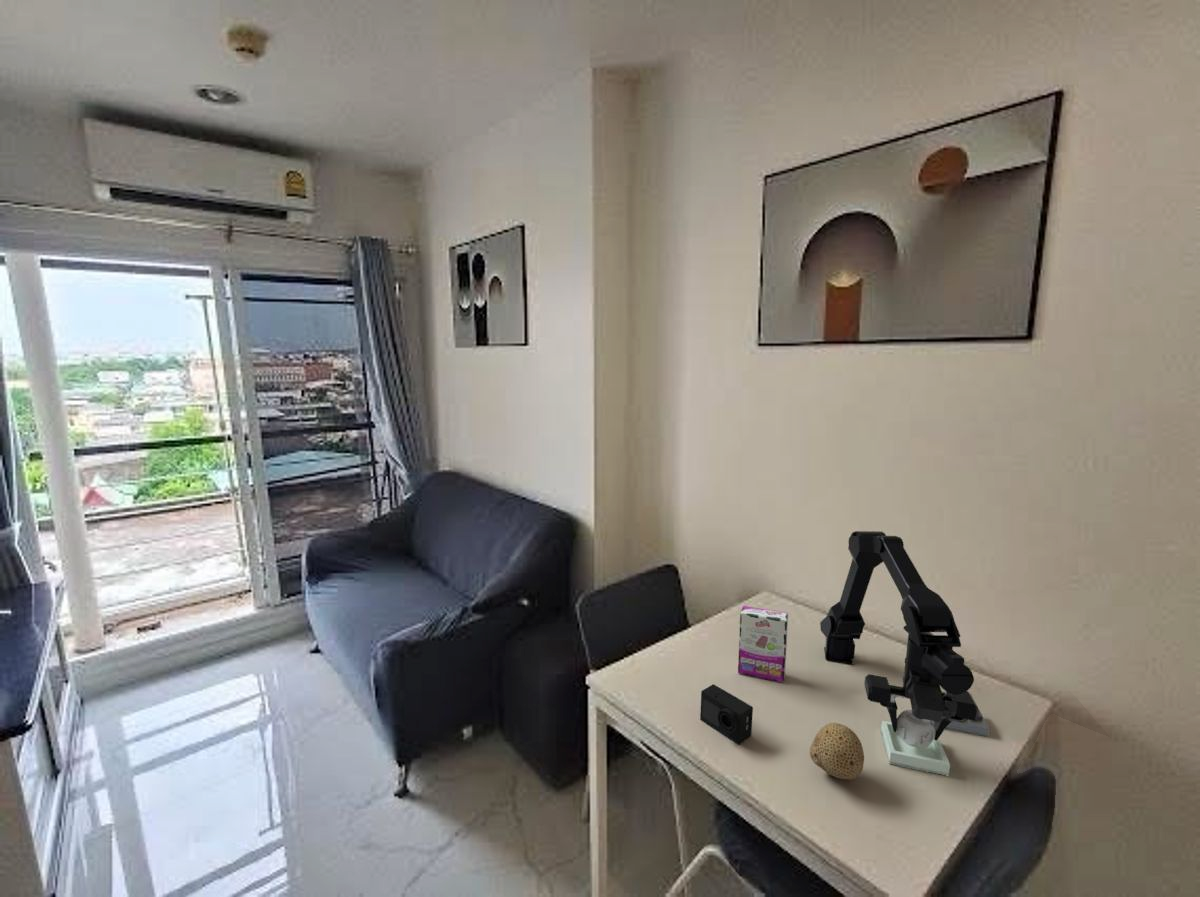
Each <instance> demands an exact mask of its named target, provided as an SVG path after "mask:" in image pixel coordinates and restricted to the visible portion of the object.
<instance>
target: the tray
mask: <svg viewBox="0 0 1200 897" xmlns="http://www.w3.org/2000/svg"><path fill="white" fill-rule="evenodd" d="M880 733H881V736H882V740H883V745H884V748H885V752H886V756H887V759H888V764H890V765H893V766H898V767H902V768H907V769H911V768H912V769H911V770H915V771H920V770H921V771H920V772H924V771H928V772H927V773H929V772H933V773H932V774H934V773H938V774H942V775H941V776H943V775H948V776H949V775H950V768H951V765H950V761H949V759H948V755H947V754H946V751H945V749H944V747H943V744H942V742H941V740H940V737H939V738H938V740H933V742H932V743H931V744H930V745H929V746H928V747H926V748H916V747H912V746H910V745H908V744H906V743H905V742H904V741H903V740H902V739H901V738H900V736H899V735H898V733H897V730H896V732H894V731H893V727H892V723H891V721H886V720H882V721H881V727H880ZM938 774H937V775H938Z"/></svg>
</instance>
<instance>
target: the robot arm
mask: <svg viewBox="0 0 1200 897" xmlns="http://www.w3.org/2000/svg"><path fill="white" fill-rule="evenodd" d="M848 552H849V553H850V556H851V557H852V558H851V559H852V560H851V562H850V566H849V569H848V573H847V577H846V580H845V583H844V586H843V589H842V593H841V596H840V599H839V601H838V602H836V603H835V604H833V605H832V606H831V607H830V608H829V611H828V613H827V615H826V616H825V617H824V618H823V619H822V620H821V621H820V623H819V625H820V626H819V627H820V631H821V633H822V634H823V635H824V637H825V645H824V647H823V650H824V657H825V658H824V659H825V660H826V661H831V662H834V663H835V662H836V663H842V664H847V665H853V664H854V662H853V660H854V659H855V651H856V650H855V649H856V643H855V640H860V639H861V635H862V634H863V633H864V627H865V625H866V623H865V619H864V618H863V616H862V614H861V609H862V605H863V602H864V599H865V597H866V596H865V595H867V594H866V593H867V590H868V587H869V585H870V581H871V580H872V579H871V578H872V575H873V572H874V570H875V568H876V567H878V566H879V565H881V564H882V563H883V564H884V566H885V568H886V569H887V571H888V573H889V575H890V576H891V579H892V580H893V583H894V584H895V586H896V588H897V590H898V592H899V594H900V596H901V599H902V602H901V606H900V612H902V613H901V614H902V615H903V616H902V618H903V621H904V623H905V625H904V626H903V631H905V632H906V633H907V634H908V635H907V643H906V644H907V645H906V654H905V657H904V664H905V665H904V674H903V677H902V686H898V685H893V684H890V683H889V680H888V677H885V676H880V675H875V674H870V673H868V674H867V675H866V676H865V677H864V685H863V686H864V689H865V693H866V697H867V700H869V701H870V702H871V703H872V702H873V703H878V704H880V706H882V707H884V708H886V709H887V711H888V714H889V715H888V716H889V718H890V722H891V723H892V727H893V731H894V732H896V730H897V718H898V715H897V711H898V705H897V702H896V698H901V699H906V700H909V701H910V705H911V710H912V713H913V715H914V716H915V717H916V718H918V719H926V720H931V721H934V727H935V731H936V734H935V738H934V740H938V738H939V739H940V737H941V735H942V733H944V731H945V728H946V727H947V726H948V725H949V724H950V723H951V722H952V721H962V720H963V719H968V720H973V721H976V720H978V713H979V711H980V710H979V711H978V709H979V707H978V705H977V702H976V701H975V699H974V698H973V696H972V694H971V693H970V692H969V690H970V689H971V688H972V686H973V684H974V680H975V677H974V674H973V672H972V670H971V668H969V667H968V666H967V665H966V664H965V657H963V656H962V655H961V654H958V653H957V652H956V651H955V650H953V648H962V643H961V640H960V638H961V634H960V632H959V630H958V629H959V628H958V626H957V624H956V621H955V618H954V615H953V614H954V613H953V612H952V610H951V609H950V607H949V606H948V604H947V603H946V602H945V600H944V599H943V598H942V596H941V595H940V594H938V593H937V592H935V591H934V590H932V589H930V588H929V587H928V586H927V585H926V583H925V582H924V580H923V578H922V576H921V574H920V573H919V572H918V570H917V567H916V566H915V564H914V563H913V560H912V559H911V558H910V556H909V554H908V552H907V550H906V549H905V546H904V541H903V539H902V538H901V536H897V535H887V534H886V533H885V532H884V531H883V530H882V531H878V530H876V531H874V530H873V531H870V530H869V531H867V530H861V531H859V530H858V531H857V530H856V531H852V533H850V536H849V538H848ZM934 633H946V635H943V634H941V635H939V634H936V635H935V634H934ZM941 688H942V689H943V690H944V691H945V692H943V691H942V689H941Z"/></svg>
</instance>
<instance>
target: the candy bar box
mask: <svg viewBox="0 0 1200 897" xmlns="http://www.w3.org/2000/svg"><path fill="white" fill-rule="evenodd" d="M788 619H789V613H788V612H786V611H778V610H773V609H767V608H761V607H754V606H748V605H742V608H741V611H740V614H739V639H738V640H739V641H738V659H737V660H738V662H737V663H738V664H737V673H738V674H739V675H743V676H746V677H747V676H748V677H751V678H752V677H753V678H756V679H762V680H767V681H773V682H778V683H783V684H784V682H785V676H786V660H787V645H788V644H787V642H788V623H789V620H788Z"/></svg>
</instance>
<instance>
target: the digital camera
mask: <svg viewBox="0 0 1200 897" xmlns="http://www.w3.org/2000/svg"><path fill="white" fill-rule="evenodd" d="M700 693H701V694H700V714H699V715H700V716H699V717H700V719H699V720H700V721H701V722H702V723H705V724H706V725H707V726H709V727H711V728H712V729H713V730H715V731H717V732H718V733H719V734H722V735H723V737H725V738H727V739H729V740H730V741H732V742H734V743H735V744H736V745H738V746H740V745H741V744H742V743H744V742H746V741H747V740H749V738H751V737H752V730H753V712H754V707H753V706H752V705H750V704H749V703H747V702H746V701H744V700H742V699H741V698H739V697H736V696H735V695H733V694H732V693H730V692H728V691H727V690H725V689H722V687H719V686H717V685H716V684H711V685H709V686H708V687H706V688H704V689H702V690H701V691H700Z"/></svg>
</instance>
